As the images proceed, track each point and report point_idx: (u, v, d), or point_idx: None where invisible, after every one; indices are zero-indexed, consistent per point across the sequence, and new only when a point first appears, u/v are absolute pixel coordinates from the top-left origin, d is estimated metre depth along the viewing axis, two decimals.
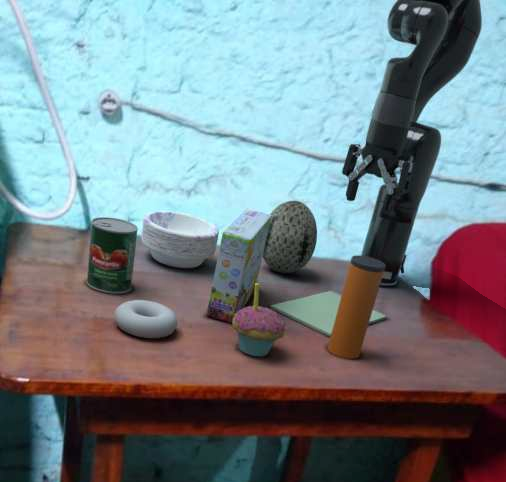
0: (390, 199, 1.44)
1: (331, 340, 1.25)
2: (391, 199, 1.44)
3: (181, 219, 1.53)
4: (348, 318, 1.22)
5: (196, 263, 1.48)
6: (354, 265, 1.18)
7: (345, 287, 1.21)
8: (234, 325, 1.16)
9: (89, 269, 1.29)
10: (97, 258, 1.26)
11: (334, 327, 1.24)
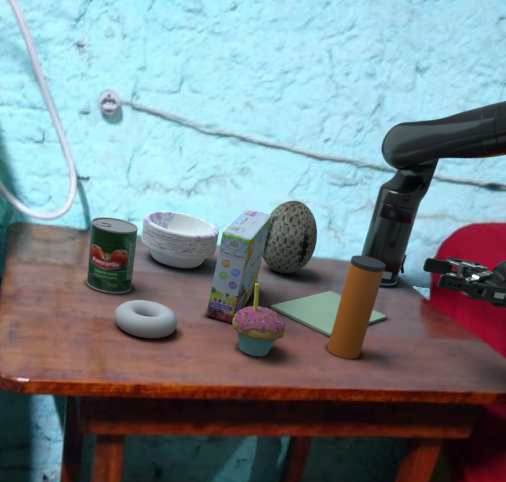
0: None
1: (331, 340, 1.25)
2: None
3: (181, 219, 1.53)
4: (348, 318, 1.22)
5: (196, 263, 1.48)
6: (354, 265, 1.18)
7: (345, 287, 1.21)
8: (234, 325, 1.16)
9: (89, 269, 1.29)
10: (97, 258, 1.26)
11: (334, 327, 1.24)
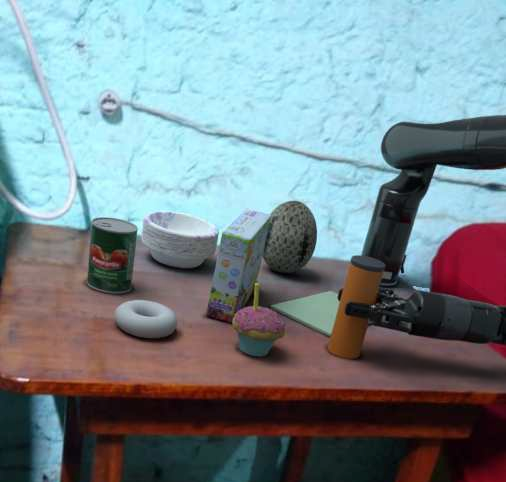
0: None
1: (331, 340, 1.25)
2: None
3: (181, 219, 1.53)
4: (348, 318, 1.22)
5: (196, 263, 1.48)
6: (354, 265, 1.18)
7: (345, 287, 1.21)
8: (234, 325, 1.16)
9: (89, 269, 1.29)
10: (97, 258, 1.26)
11: (334, 327, 1.24)
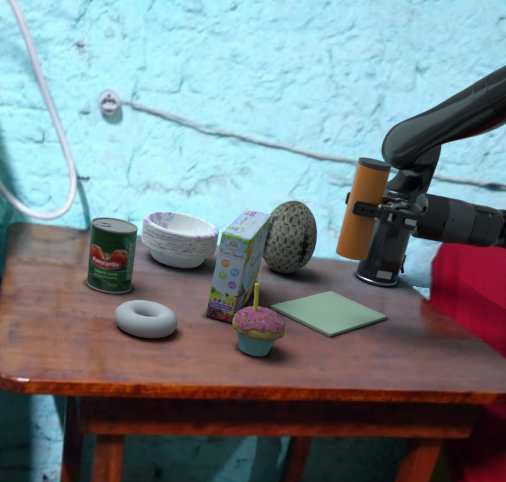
0: None
1: (339, 243, 1.30)
2: None
3: (181, 219, 1.53)
4: (355, 219, 1.26)
5: (196, 263, 1.48)
6: (361, 164, 1.22)
7: (352, 188, 1.25)
8: (234, 325, 1.16)
9: (89, 269, 1.29)
10: (97, 258, 1.26)
11: (342, 229, 1.29)
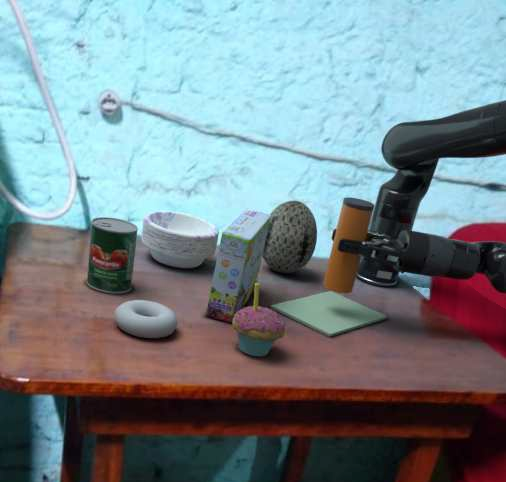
0: None
1: (326, 277, 1.38)
2: None
3: (181, 219, 1.53)
4: (341, 255, 1.34)
5: (196, 263, 1.48)
6: (346, 205, 1.30)
7: (338, 226, 1.33)
8: (234, 325, 1.16)
9: (89, 269, 1.29)
10: (97, 258, 1.26)
11: (329, 264, 1.37)
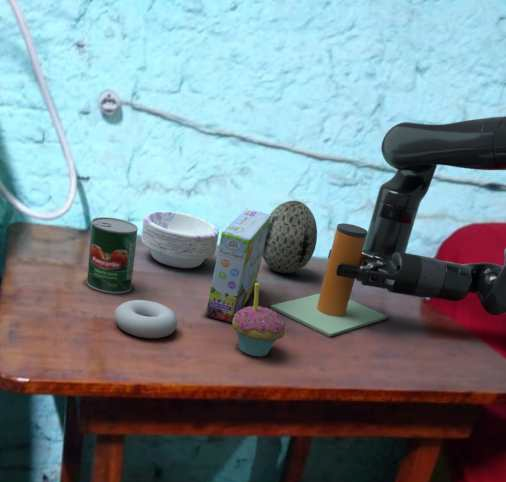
0: None
1: (320, 300, 1.40)
2: None
3: (181, 219, 1.53)
4: (334, 280, 1.36)
5: (196, 263, 1.48)
6: (339, 231, 1.33)
7: (332, 251, 1.35)
8: (234, 325, 1.16)
9: (89, 269, 1.29)
10: (97, 258, 1.26)
11: (322, 288, 1.39)
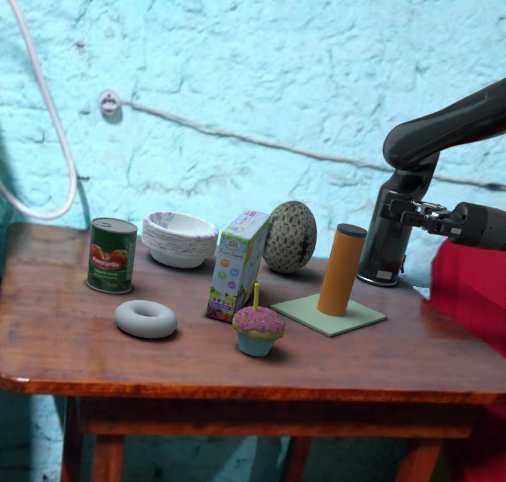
0: None
1: (320, 300, 1.40)
2: None
3: (181, 219, 1.53)
4: (334, 280, 1.36)
5: (196, 263, 1.48)
6: (339, 231, 1.33)
7: (332, 251, 1.35)
8: (234, 325, 1.16)
9: (89, 269, 1.29)
10: (97, 258, 1.26)
11: (322, 288, 1.39)
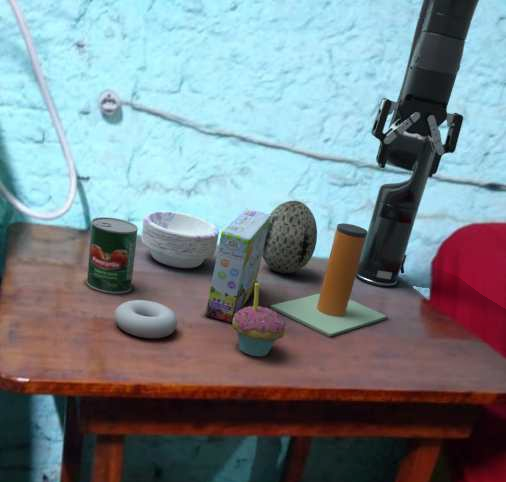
0: (438, 160, 1.25)
1: (320, 300, 1.40)
2: (439, 160, 1.26)
3: (181, 219, 1.53)
4: (334, 280, 1.36)
5: (196, 263, 1.48)
6: (339, 231, 1.33)
7: (332, 251, 1.35)
8: (234, 325, 1.16)
9: (89, 269, 1.29)
10: (97, 258, 1.26)
11: (322, 288, 1.39)
